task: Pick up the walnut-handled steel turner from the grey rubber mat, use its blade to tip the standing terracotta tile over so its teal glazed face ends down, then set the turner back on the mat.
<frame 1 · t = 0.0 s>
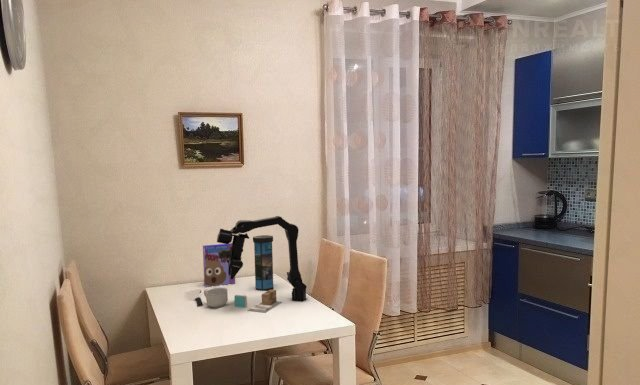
hand: (230, 277, 218), 15 cm above the table, tool pointing down, fingers open, 9 cm apart
advertising column: (264, 289, 252), on the table
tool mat: (265, 307, 219), on the table
kitchen cleaver: (193, 300, 237), on the table
tile: (240, 307, 220), on the table
turner: (266, 305, 220), point 1 cm above the table, touching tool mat
teacup: (215, 305, 224), on the table
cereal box: (219, 285, 265), on the table
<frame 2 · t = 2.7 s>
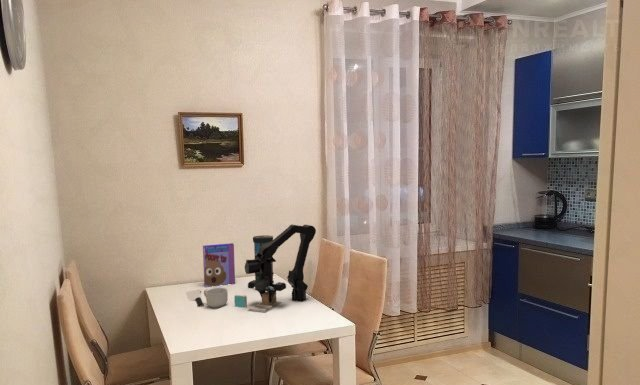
hand: (267, 302, 221), 2 cm above the table, tool pointing down, fingers closed on turner, 3 cm apart
turner: (266, 305, 220), point 1 cm above the table, touching gripper, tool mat
everything else where it was.
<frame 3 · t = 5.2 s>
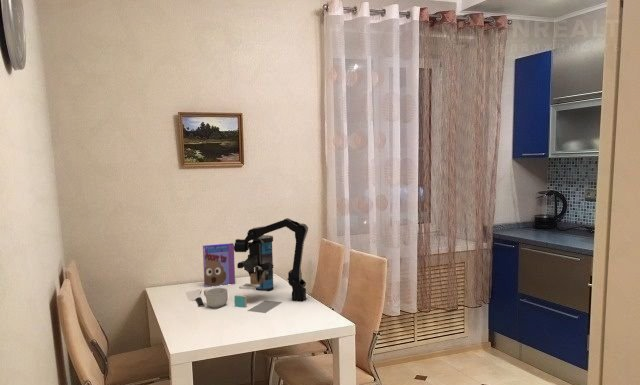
hand: (255, 281, 233), 9 cm above the table, tool pointing down, fingers closed on turner, 3 cm apart
turner: (254, 284, 232), point 8 cm above the table, touching gripper
everything else where it was.
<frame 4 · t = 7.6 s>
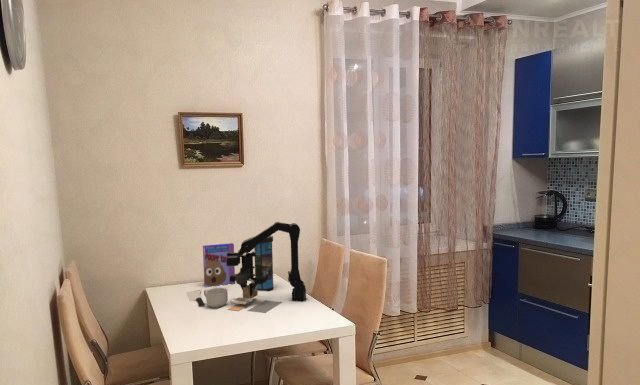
hand: (248, 295, 226), 4 cm above the table, tool pointing down, fingers closed on turner, 3 cm apart
tile: (239, 307, 219), on the table, tilted 90°
turner: (247, 298, 225), point 3 cm above the table, touching gripper
everything else where it was.
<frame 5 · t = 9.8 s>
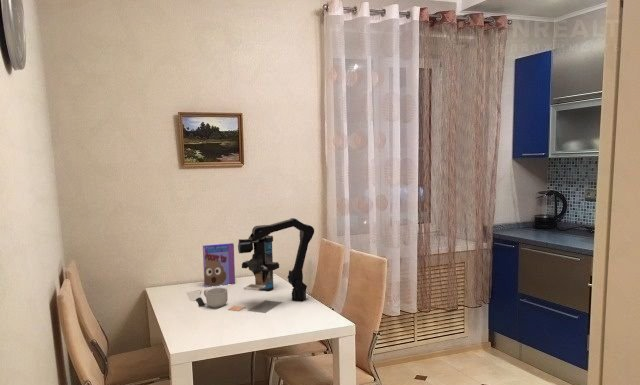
hand: (261, 282, 222), 12 cm above the table, tool pointing down, fingers closed on turner, 3 cm apart
turner: (260, 285, 221), point 10 cm above the table, touching gripper
everything else where it was.
when the fingers open (3 cm above the table, at t = 11.9 s): turner drops 1 cm, resting on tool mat.
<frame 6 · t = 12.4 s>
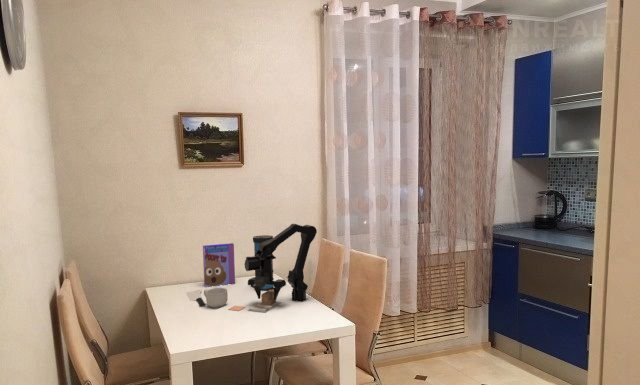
hand: (267, 299, 221), 3 cm above the table, tool pointing down, fingers open, 9 cm apart
turner: (266, 305, 220), point 1 cm above the table, touching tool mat
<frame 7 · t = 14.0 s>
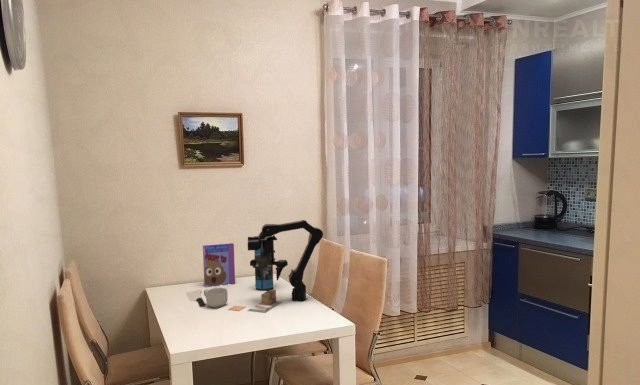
hand: (269, 279, 226), 12 cm above the table, tool pointing down, fingers open, 9 cm apart
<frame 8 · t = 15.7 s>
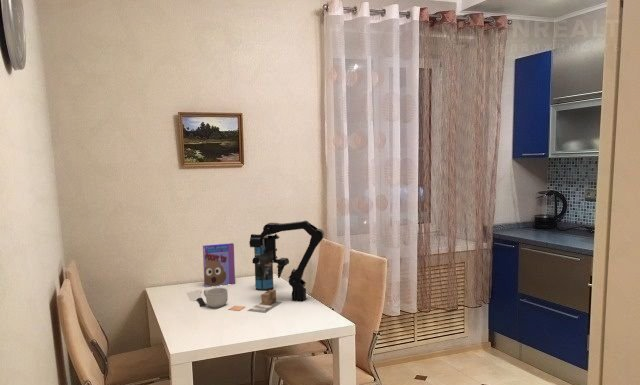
hand: (271, 277, 231), 12 cm above the table, tool pointing down, fingers open, 9 cm apart
at the end: tile tilted 90°; tile 3.0 cm from the target spot, on the table; turner 0.1 cm from the target spot, point 0.6 cm above the table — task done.
